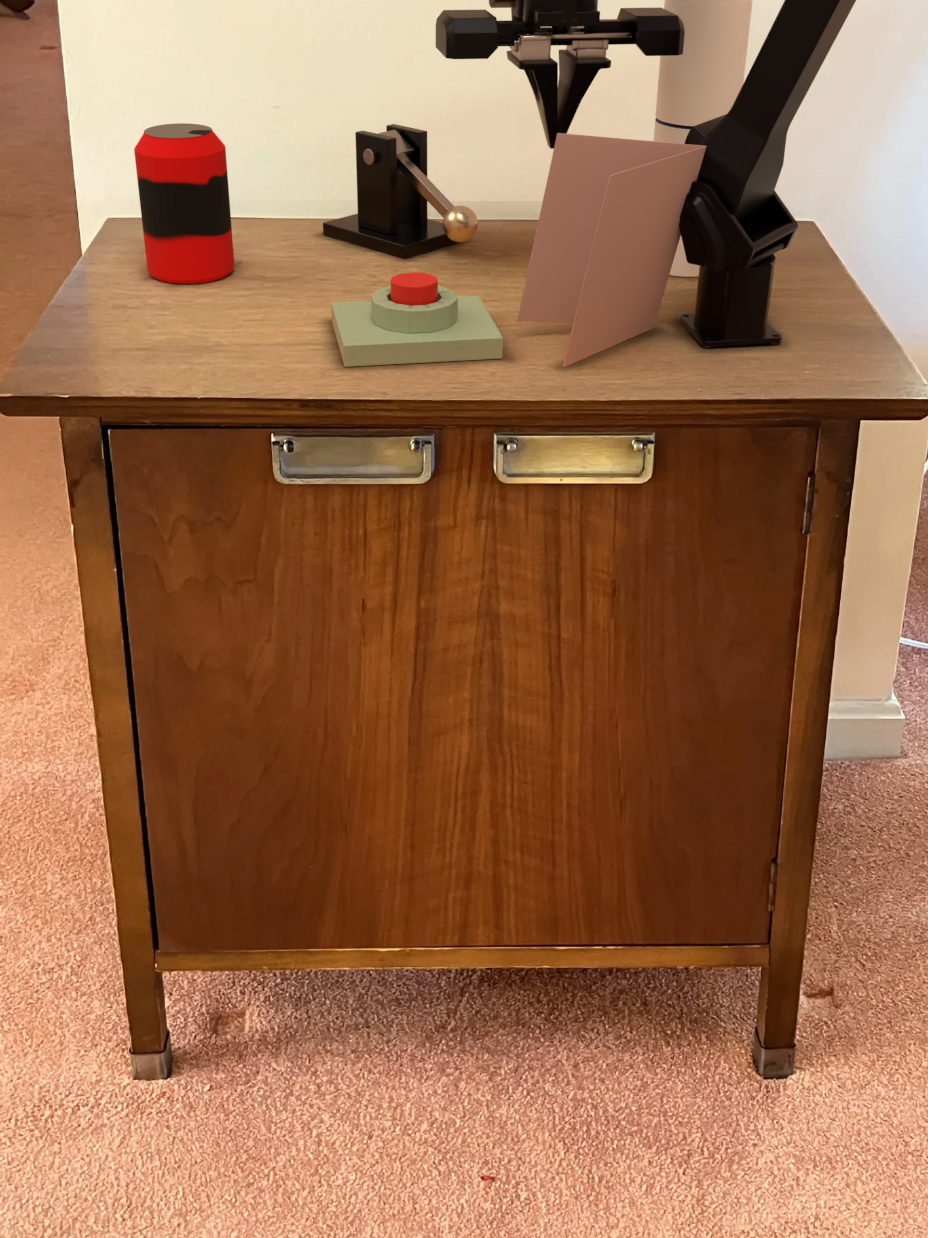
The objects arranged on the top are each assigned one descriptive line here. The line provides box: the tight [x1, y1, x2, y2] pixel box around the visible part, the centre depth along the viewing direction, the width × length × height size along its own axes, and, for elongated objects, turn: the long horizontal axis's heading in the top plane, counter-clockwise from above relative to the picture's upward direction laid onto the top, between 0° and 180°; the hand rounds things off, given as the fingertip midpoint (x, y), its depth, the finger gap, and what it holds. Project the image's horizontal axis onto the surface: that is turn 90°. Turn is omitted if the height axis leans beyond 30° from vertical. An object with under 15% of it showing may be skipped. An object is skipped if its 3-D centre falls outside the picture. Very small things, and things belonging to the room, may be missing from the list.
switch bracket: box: [322, 123, 459, 260], centre depth 128 cm, size 11×8×10 cm
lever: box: [377, 130, 479, 243], centre depth 125 cm, size 13×3×3 cm, turn 47°
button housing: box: [330, 284, 504, 368], centre depth 106 cm, size 10×12×4 cm
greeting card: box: [516, 133, 706, 368], centre depth 101 cm, size 11×7×15 cm, turn 103°
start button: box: [390, 271, 439, 306], centre depth 104 cm, size 4×4×2 cm
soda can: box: [133, 122, 235, 285], centre depth 118 cm, size 8×8×12 cm
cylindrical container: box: [653, 0, 753, 278], centre depth 118 cm, size 7×7×25 cm
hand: (554, 147), depth 111 cm, fingers closed
